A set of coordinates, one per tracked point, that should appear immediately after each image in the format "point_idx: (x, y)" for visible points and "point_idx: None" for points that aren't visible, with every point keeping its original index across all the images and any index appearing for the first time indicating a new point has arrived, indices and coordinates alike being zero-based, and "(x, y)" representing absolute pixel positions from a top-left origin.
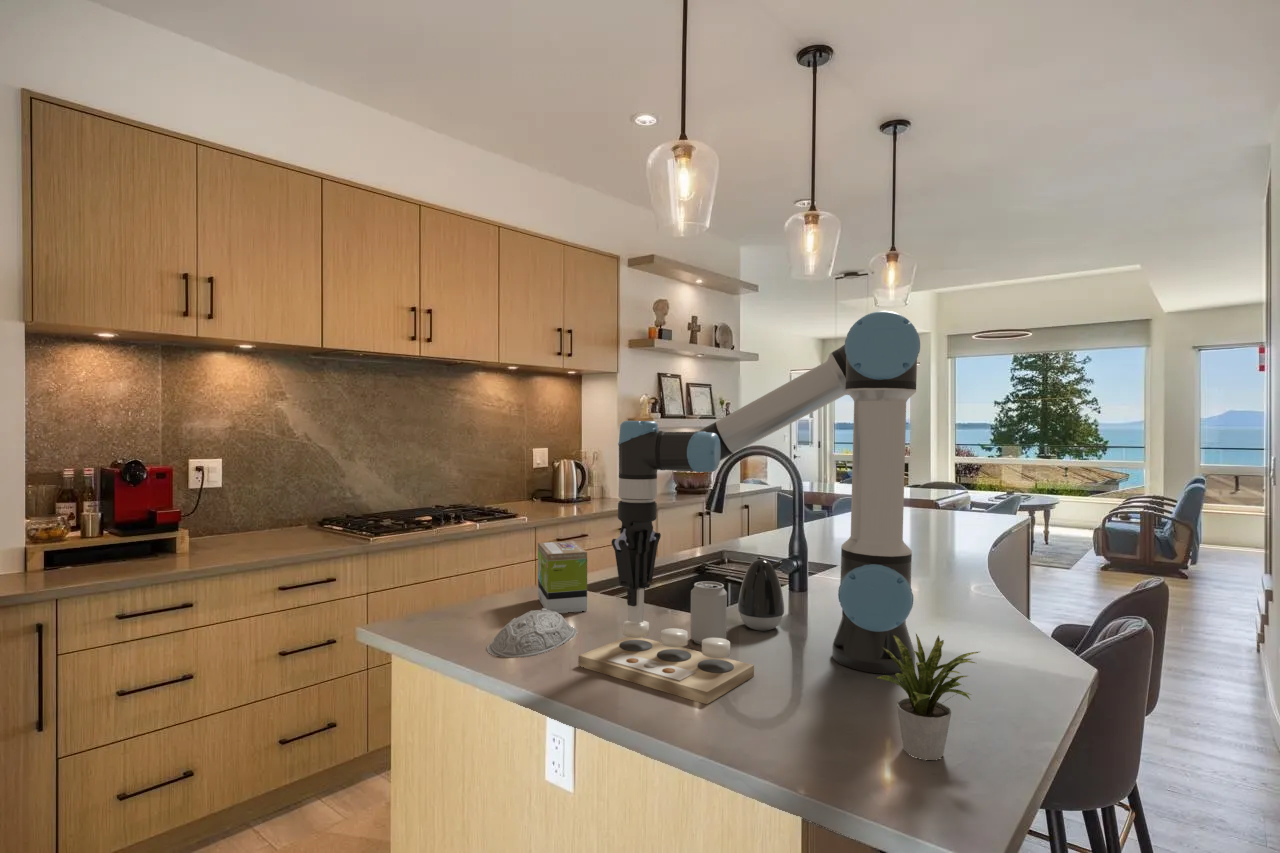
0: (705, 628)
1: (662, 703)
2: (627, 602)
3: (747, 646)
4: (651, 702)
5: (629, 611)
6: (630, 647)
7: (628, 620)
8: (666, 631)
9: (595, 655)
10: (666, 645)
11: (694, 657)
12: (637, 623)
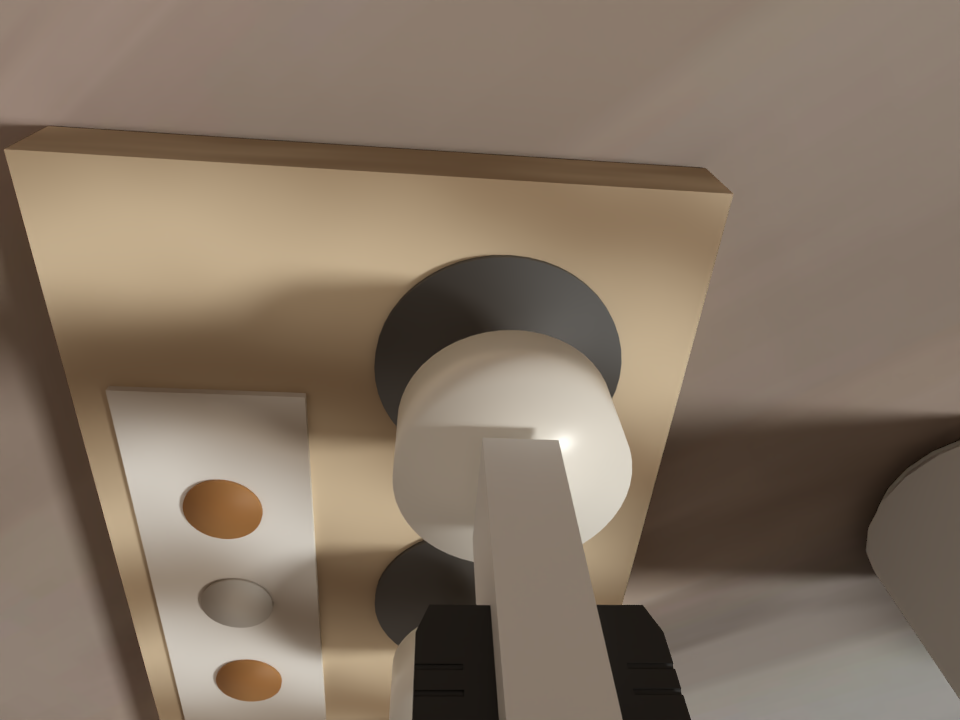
0: (912, 615)
1: (75, 690)
2: (417, 637)
3: None
4: (44, 664)
5: (485, 523)
6: None
7: (483, 446)
8: None
9: (120, 263)
10: (392, 668)
11: None
12: None
